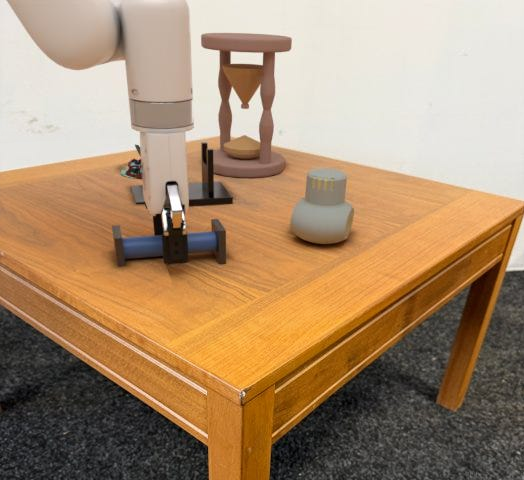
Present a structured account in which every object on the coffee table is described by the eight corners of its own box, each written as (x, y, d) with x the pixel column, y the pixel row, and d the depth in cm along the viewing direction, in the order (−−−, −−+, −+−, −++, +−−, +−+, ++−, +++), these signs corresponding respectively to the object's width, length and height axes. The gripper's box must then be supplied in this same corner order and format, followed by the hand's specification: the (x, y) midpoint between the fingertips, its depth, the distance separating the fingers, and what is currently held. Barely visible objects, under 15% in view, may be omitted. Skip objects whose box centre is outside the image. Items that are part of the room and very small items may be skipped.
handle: (118, 273, 72) (114, 238, 70) (115, 258, 76) (111, 225, 74) (226, 263, 76) (225, 230, 74) (218, 250, 80) (218, 218, 77)
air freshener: (304, 223, 91) (308, 161, 86) (353, 230, 89) (361, 167, 84) (285, 246, 82) (289, 179, 77) (340, 254, 80) (348, 186, 75)
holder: (136, 209, 94) (131, 155, 89) (131, 192, 102) (126, 141, 97) (232, 203, 98) (233, 151, 94) (220, 187, 106) (220, 139, 102)
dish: (170, 163, 111) (137, 139, 109) (150, 192, 110) (117, 168, 108) (166, 172, 118) (136, 150, 116) (147, 199, 118) (117, 177, 116)
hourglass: (191, 161, 122) (186, 32, 109) (258, 154, 130) (262, 33, 116) (227, 182, 110) (227, 38, 96) (300, 173, 117) (309, 39, 104)
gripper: (124, 103, 72) (136, 229, 81) (137, 130, 58) (150, 278, 67) (181, 102, 74) (187, 225, 83) (207, 128, 60) (210, 272, 69)
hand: (170, 248), depth 75 cm, fingers open, 9 cm apart
